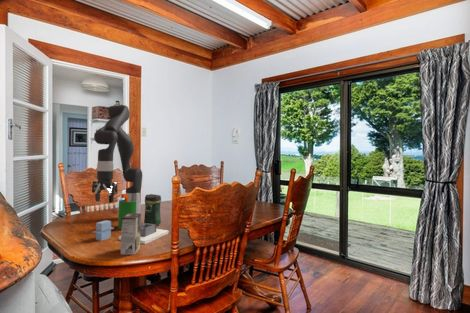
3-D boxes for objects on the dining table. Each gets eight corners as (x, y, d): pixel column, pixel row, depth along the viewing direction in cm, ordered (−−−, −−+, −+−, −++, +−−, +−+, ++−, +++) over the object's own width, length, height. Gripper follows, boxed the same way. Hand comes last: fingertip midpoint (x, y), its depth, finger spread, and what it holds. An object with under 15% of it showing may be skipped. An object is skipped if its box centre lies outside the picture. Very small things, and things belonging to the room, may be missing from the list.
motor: (138, 226, 162) (139, 193, 162) (128, 230, 154) (129, 195, 153) (124, 224, 165) (125, 191, 165) (113, 228, 157) (114, 193, 157)
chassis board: (144, 229, 156) (144, 220, 156) (168, 233, 151) (168, 223, 151) (118, 239, 137) (119, 228, 137) (145, 244, 132) (145, 232, 132)
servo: (108, 235, 144) (108, 219, 144) (113, 236, 142) (114, 220, 142) (92, 241, 134) (93, 223, 134) (98, 242, 133) (98, 224, 133)
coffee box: (126, 247, 127) (127, 212, 127) (140, 247, 127) (141, 213, 127) (119, 254, 118) (120, 217, 118) (135, 254, 118) (136, 217, 118)
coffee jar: (162, 224, 169) (163, 194, 169) (153, 227, 162) (154, 196, 162) (151, 222, 173) (151, 192, 173) (141, 224, 166) (142, 194, 166)
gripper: (121, 170, 139) (120, 202, 139) (100, 169, 144) (99, 199, 144) (110, 171, 132) (109, 204, 132) (88, 169, 137) (87, 201, 137)
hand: (104, 201), depth 138 cm, fingers open, 8 cm apart
